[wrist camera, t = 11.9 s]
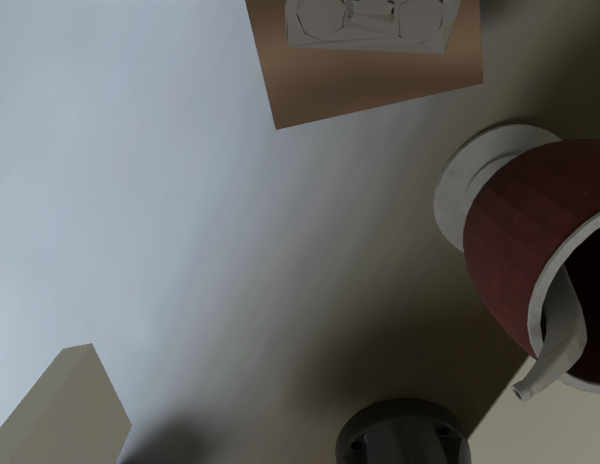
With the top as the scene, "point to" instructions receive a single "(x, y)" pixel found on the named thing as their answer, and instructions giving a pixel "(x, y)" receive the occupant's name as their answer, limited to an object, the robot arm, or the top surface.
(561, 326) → the mate gourd
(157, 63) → the top surface
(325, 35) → the electrical switch
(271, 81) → the walnut stand
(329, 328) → the top surface
